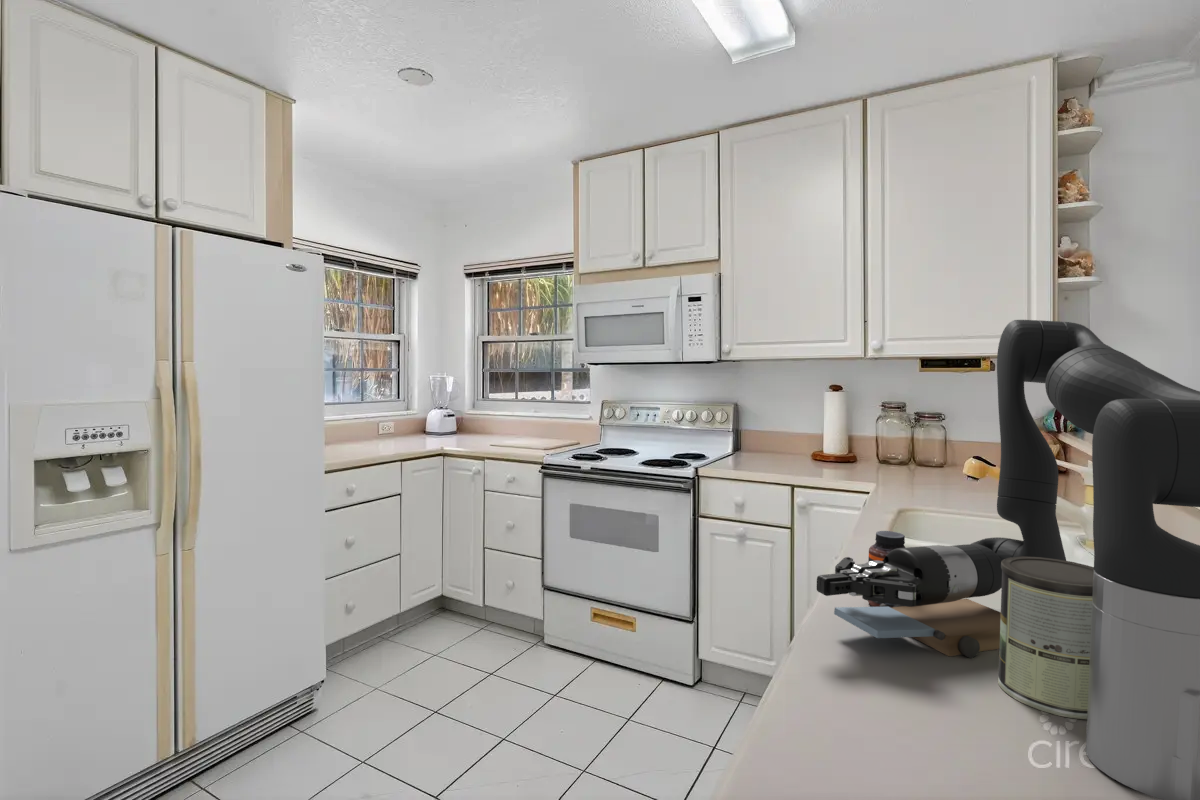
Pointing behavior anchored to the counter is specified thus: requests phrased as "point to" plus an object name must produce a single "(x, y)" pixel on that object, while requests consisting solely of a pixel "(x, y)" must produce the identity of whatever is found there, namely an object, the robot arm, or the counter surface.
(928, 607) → the flatbed
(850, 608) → the panel
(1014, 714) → the counter surface
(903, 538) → the supplement bottle
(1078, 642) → the coffee can
